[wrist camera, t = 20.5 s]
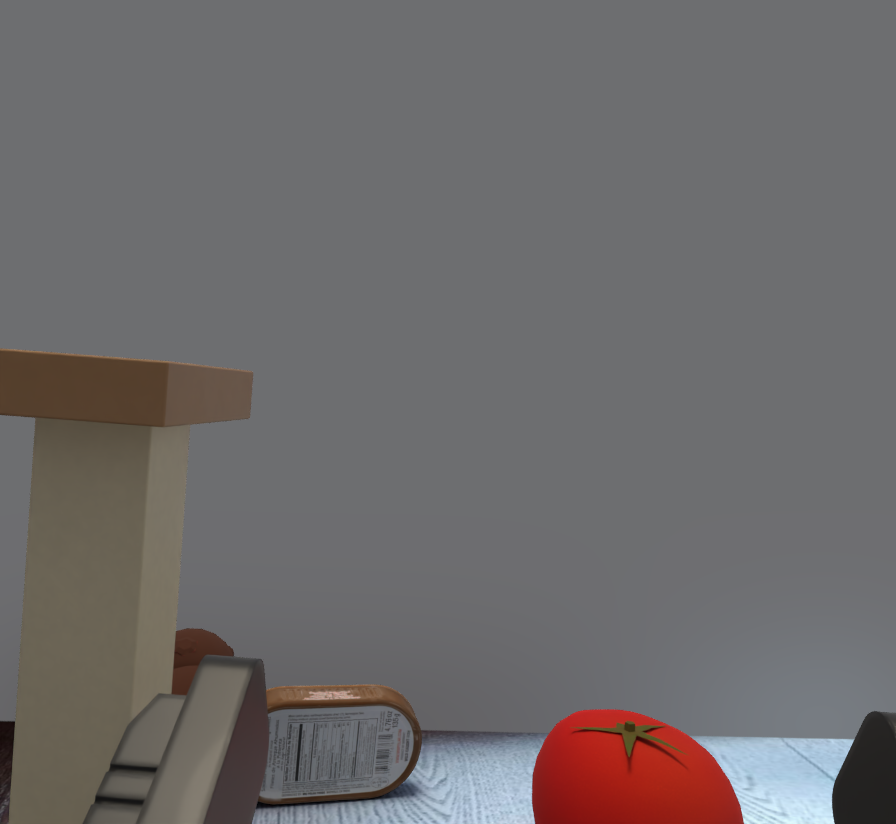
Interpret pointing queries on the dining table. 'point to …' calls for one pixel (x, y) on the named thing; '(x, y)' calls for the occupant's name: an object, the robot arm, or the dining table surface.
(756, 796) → the dining table surface
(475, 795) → the dining table surface
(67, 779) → the stand
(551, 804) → the tomato
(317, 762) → the tin
